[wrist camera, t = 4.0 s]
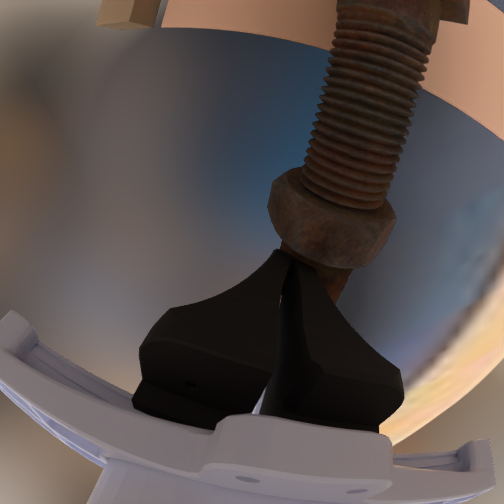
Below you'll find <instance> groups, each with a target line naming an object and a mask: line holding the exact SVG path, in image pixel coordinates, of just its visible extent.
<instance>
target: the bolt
mask: <svg viewBox="0 0 504 504" xmlns="http://www.w3.org/2000/svg"><path fill="white" fill-rule="evenodd" d="M469 10H470V0H337V5H336V12H337V20H338V22H336V24H335V26H336V29H337V30H336V31H335V32H334V37H335V38H336V39H333V40H332V45H333V46H334V47H335V48H332V49H330V51H329V52H330V53H331V54H332V55H333V56H334V57H331V58H328V62H329V63H330V64H331V65H332V67H327V68H326V69H325V70H326V72H327V73H328V74H329V75H330V76H328V77H324V78H323V80H324V81H325V82H326V83H327V84H328V86H323V87H321V89H322V90H323V91H324V92H325V93H326V94H324V95H320V96H319V98H320V99H321V100H322V101H323V102H324V103H321V104H318V105H317V107H318V108H319V109H320V110H321V111H322V112H319V113H316V114H315V116H316V117H317V118H318V119H319V121H316V122H313V126H314V127H315V128H316V130H312V132H311V133H310V134H311V135H312V136H313V137H314V138H312V139H310V140H309V142H308V143H309V144H310V145H311V147H310V148H308V149H307V150H306V152H307V153H308V156H306V157H305V158H304V161H305V163H306V164H304V165H303V166H302V167H298V168H293V169H290V170H289V171H287V172H285V173H283V174H282V175H281V176H280V177H278V178H277V179H275V180H274V181H273V183H272V188H271V192H270V197H269V201H268V206H267V208H268V211H269V215H270V218H271V221H272V223H273V226H274V228H275V230H276V232H277V233H278V235H279V236H280V238H281V239H282V242H281V247H280V250H282V251H284V252H286V253H288V254H289V255H291V262H290V265H289V268H288V271H287V274H286V277H285V280H284V283H283V286H282V290H281V297H280V299H281V298H282V296H283V295H284V291H285V290H286V286H287V285H288V281H289V279H290V277H291V273H292V272H293V269H294V265H295V264H296V260H297V259H298V260H300V261H301V262H303V263H305V264H308V265H310V266H312V267H314V268H315V269H316V271H317V273H318V275H319V278H320V280H321V282H322V284H323V285H324V287H325V289H326V291H327V293H328V294H329V296H330V298H331V299H332V301H333V303H334V304H335V303H336V302H337V300H338V297H339V295H340V293H341V291H342V290H343V288H344V286H345V283H346V282H347V280H348V277H349V275H350V274H351V272H352V270H353V268H360V267H365V266H367V265H368V264H369V263H370V262H371V261H372V260H373V259H374V258H375V257H376V255H377V254H378V253H379V251H380V250H381V249H382V247H383V246H384V244H385V243H386V241H387V239H388V237H389V235H390V233H391V231H392V228H393V226H394V224H395V222H396V220H397V219H396V216H395V214H394V211H393V209H392V207H391V205H390V203H389V202H388V201H387V200H386V198H385V197H386V195H387V191H386V190H387V189H389V187H390V182H389V181H391V180H392V179H393V174H392V172H395V171H396V169H397V167H396V165H395V163H398V162H399V161H400V158H399V156H398V155H397V154H401V153H402V152H403V149H402V147H401V146H400V145H402V144H406V140H405V138H404V137H403V136H404V135H409V131H408V130H407V129H406V128H405V127H407V126H411V124H412V123H411V122H410V120H409V119H408V117H411V116H414V113H413V112H412V111H411V110H410V109H409V108H413V107H416V104H415V103H414V102H413V100H412V99H415V98H419V95H418V94H417V93H416V91H415V90H419V89H422V86H421V85H420V84H419V83H418V82H419V81H424V80H425V77H424V76H423V75H422V74H421V73H422V72H426V71H427V68H426V67H425V66H424V65H423V64H427V63H429V59H428V57H427V55H430V54H431V50H432V46H433V45H434V44H435V43H436V39H437V33H438V28H439V22H440V20H442V21H448V22H454V23H460V24H465V25H468V19H469Z"/></svg>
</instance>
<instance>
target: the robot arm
mask: <svg viewBox="0 0 504 504" xmlns="http://www.w3.org/2000/svg"><path fill="white" fill-rule="evenodd" d="M290 262H291V255H289V254H288V253H286V252H284V251H282V250H280V249H275V250H274V251H273V253H272V254H271V256H270V257H269V258H268V259H267V261H266V262H265V263H264V264H263V265H262V266H261V267H259V268H258V269H257V270H256V271H255V272H254V273H253V274H251V275H250V276H249V277H248V278H247V279H245V280H243V281H242V282H240V283H239V284H237V285H236V286H234V287H232V288H231V289H229V290H227V291H225V292H223V293H221V294H219V295H217V296H214V297H212V298H209V299H206V300H203V301H200V302H197V303H193V304H189V305H184V306H179V307H174V308H170V309H169V310H168V311H167V312H166V313H165V314H164V315H163V316H162V317H161V318H160V319H159V320H158V322H156V323H155V325H154V326H153V327H152V328H151V330H150V331H149V333H148V335H147V336H146V338H145V339H144V341H143V343H142V345H141V346H140V347H139V360H140V366H141V373H142V381H141V383H140V384H139V386H138V388H137V390H136V392H135V393H134V395H133V394H131V393H129V392H127V391H125V390H123V389H121V388H119V387H117V386H114V385H113V384H111V383H109V382H107V381H105V380H103V379H101V378H99V377H97V376H95V375H94V374H92V373H90V372H88V371H87V370H85V369H83V368H82V367H80V366H78V365H76V364H75V363H73V362H71V361H70V360H68V359H67V358H65V357H63V356H62V355H60V354H59V353H57V352H56V351H54V350H53V349H51V348H50V347H48V346H47V345H45V344H44V343H42V342H41V341H40V340H39V338H38V335H37V332H36V330H35V329H34V327H33V326H32V325H31V324H30V323H29V322H28V321H27V320H26V319H24V318H23V317H22V316H20V315H19V314H18V313H16V312H15V311H14V310H10V311H9V312H8V313H7V314H6V315H5V316H4V318H3V319H2V320H1V321H0V389H1V391H2V392H3V393H4V394H5V395H7V396H8V397H9V398H10V399H11V400H12V401H13V402H14V403H15V404H16V405H17V406H19V407H20V408H21V409H22V410H23V411H24V412H25V413H27V414H28V415H29V416H30V417H31V418H33V419H34V420H35V421H36V422H37V423H39V424H40V425H41V426H42V427H43V428H45V429H46V430H47V431H49V432H50V433H51V434H53V435H54V436H55V437H57V438H58V439H60V440H61V441H62V442H63V443H65V444H66V445H68V446H69V447H71V448H72V449H74V450H75V451H76V452H78V453H80V454H81V455H83V456H84V457H86V458H87V459H89V460H91V461H92V462H94V463H96V464H97V465H99V466H101V467H102V468H104V469H103V472H102V474H101V476H100V478H99V480H98V482H97V484H96V486H95V488H94V490H93V492H92V494H91V496H90V498H89V500H88V502H87V504H460V503H463V502H465V501H467V500H469V499H472V498H473V497H476V496H478V495H480V494H482V493H484V492H486V491H488V490H490V489H492V488H494V487H495V486H496V479H495V471H494V464H493V458H492V452H491V447H490V442H489V439H488V438H484V439H477V440H473V441H470V442H468V443H466V444H465V445H463V446H461V447H460V448H459V449H458V450H453V451H444V452H433V453H417V454H393V453H392V443H391V441H390V439H389V437H387V436H386V435H383V434H379V425H380V424H381V423H382V422H384V421H385V420H386V419H387V418H388V417H390V416H391V415H392V414H393V413H394V412H395V411H396V410H397V409H398V408H399V407H400V406H401V405H402V403H403V401H404V389H403V382H402V377H401V373H400V369H398V368H397V367H396V366H394V365H393V364H392V363H390V362H389V361H388V360H386V359H385V358H384V357H382V356H381V355H380V354H379V353H378V352H376V351H375V350H374V349H373V348H372V347H371V346H370V345H369V344H368V343H367V342H366V341H365V340H364V339H363V338H362V337H361V336H360V335H359V334H358V333H357V332H356V331H355V330H354V329H353V328H352V327H351V325H350V324H349V323H348V322H347V321H346V319H345V318H344V317H343V315H342V314H341V313H340V311H339V310H338V309H337V307H336V306H335V304H334V303H333V301H332V299H331V298H330V296H329V294H328V293H327V291H326V289H325V287H324V285H323V284H322V282H321V280H320V278H319V275H318V273H317V271H316V269H315V268H314V267H312V266H310V265H308V264H305V263H303V262H301V261H300V260H298V259H297V260H296V264H295V265H294V269H293V272H292V273H291V277H290V279H289V281H288V285H287V286H286V290H285V291H284V295H283V296H282V298H281V302H280V297H281V290H282V286H283V283H284V280H285V277H286V274H287V271H288V268H289V265H290ZM279 305H280V306H279Z"/></svg>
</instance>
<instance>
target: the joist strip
mask: <svg viewBox="0 0 504 504" xmlns="http://www.w3.org/2000/svg"><path fill="white" fill-rule="evenodd" d="M160 2H161V0H103V1H102V4H101V7H100V11H99V15H98V18H97V22H96V26H100V27H107V28H113V29H118V30H126V29H140V28H153V27H154V23H155V19H156V16H157V12H158V9H159V5H160ZM336 5H337V0H169V1H168V4H167V8H166V11H165V15H164V18H163V22H162V26H161V27H162V28H163V27H166V28H169V27H170V28H172V27H174V28H175V27H176V28H178V27H179V28H204V29H219V30H228V31H237V32H245V33H252V34H259V35H264V36H270V37H275V38H280V39H285V40H290V41H294V42H298V43H303V44H307V45H310V46H314V47H318V48H321V49H325V50H328V51H330V49H332V48H335V47H334V46H333V45H332V40H333V39H336V38H335V37H334V32H335V31H336V30H337V29H336V26H335V24H336V22H338V20H337V12H336ZM427 57H428V59H429V63H427V64H423V65H424V66H425V67H426V68H427V71H426V72H422V73H421V74H422V75H423V76H424V77H425V80H424V81H419V82H418V83H419V84H420V85H421V86H422V89H424V90H426V91H428V92H430V93H432V94H434V95H435V96H437V97H439V98H441V99H442V100H444V101H446V102H448V103H449V104H451V105H453V106H454V107H456V108H458V109H459V110H461V111H462V112H464V113H465V114H467V115H468V116H470V117H471V118H473V119H474V120H476V121H477V122H479V123H480V124H482V125H483V126H484V127H486V128H487V129H489V130H490V131H491V132H493V133H494V134H495V135H497V136H498V137H499V138H500V139H502V140H503V141H504V13H503V12H502V11H500V10H499V9H498V8H496V7H495V6H494V5H493V4H491V3H490V2H489V1H487V0H470V10H469V19H468V25H465V24H460V23H454V22H448V21H442V20H440V22H439V28H438V33H437V39H436V43H435V44H434V45H433V46H432V50H431V54H430V55H427Z"/></svg>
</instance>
